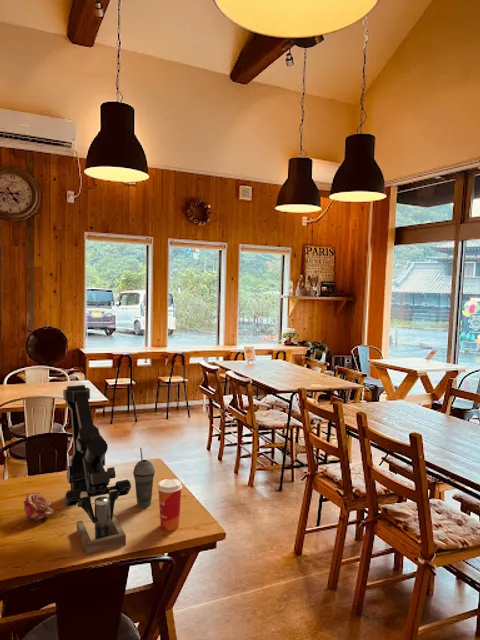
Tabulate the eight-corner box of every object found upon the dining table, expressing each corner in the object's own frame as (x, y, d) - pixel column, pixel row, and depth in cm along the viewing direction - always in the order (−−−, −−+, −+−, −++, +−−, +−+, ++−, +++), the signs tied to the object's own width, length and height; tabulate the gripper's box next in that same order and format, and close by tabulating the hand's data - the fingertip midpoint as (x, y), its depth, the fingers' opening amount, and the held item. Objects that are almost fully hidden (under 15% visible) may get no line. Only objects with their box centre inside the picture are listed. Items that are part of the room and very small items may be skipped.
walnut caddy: (76, 530, 145) (76, 521, 145) (113, 522, 151) (113, 513, 151) (86, 554, 133) (86, 544, 133) (125, 544, 138) (125, 534, 138)
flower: (15, 523, 146) (31, 502, 146) (14, 505, 154) (29, 485, 154) (43, 533, 151) (59, 512, 151) (40, 514, 159) (55, 495, 159)
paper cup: (158, 520, 152) (158, 478, 151) (182, 520, 153) (182, 477, 152) (156, 533, 145) (156, 488, 144) (181, 532, 145) (181, 488, 144)
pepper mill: (92, 542, 139) (91, 500, 138) (101, 535, 143) (101, 495, 142) (102, 545, 138) (102, 503, 137) (112, 539, 141) (111, 498, 140)
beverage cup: (150, 511, 159) (150, 452, 157) (129, 508, 160) (129, 450, 159) (158, 501, 166) (158, 445, 164) (138, 499, 167) (138, 443, 166)
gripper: (65, 464, 137) (72, 518, 129) (129, 453, 146) (140, 503, 138) (61, 480, 145) (68, 532, 136) (122, 469, 154) (132, 517, 145)
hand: (103, 521), depth 139 cm, fingers open, 5 cm apart
